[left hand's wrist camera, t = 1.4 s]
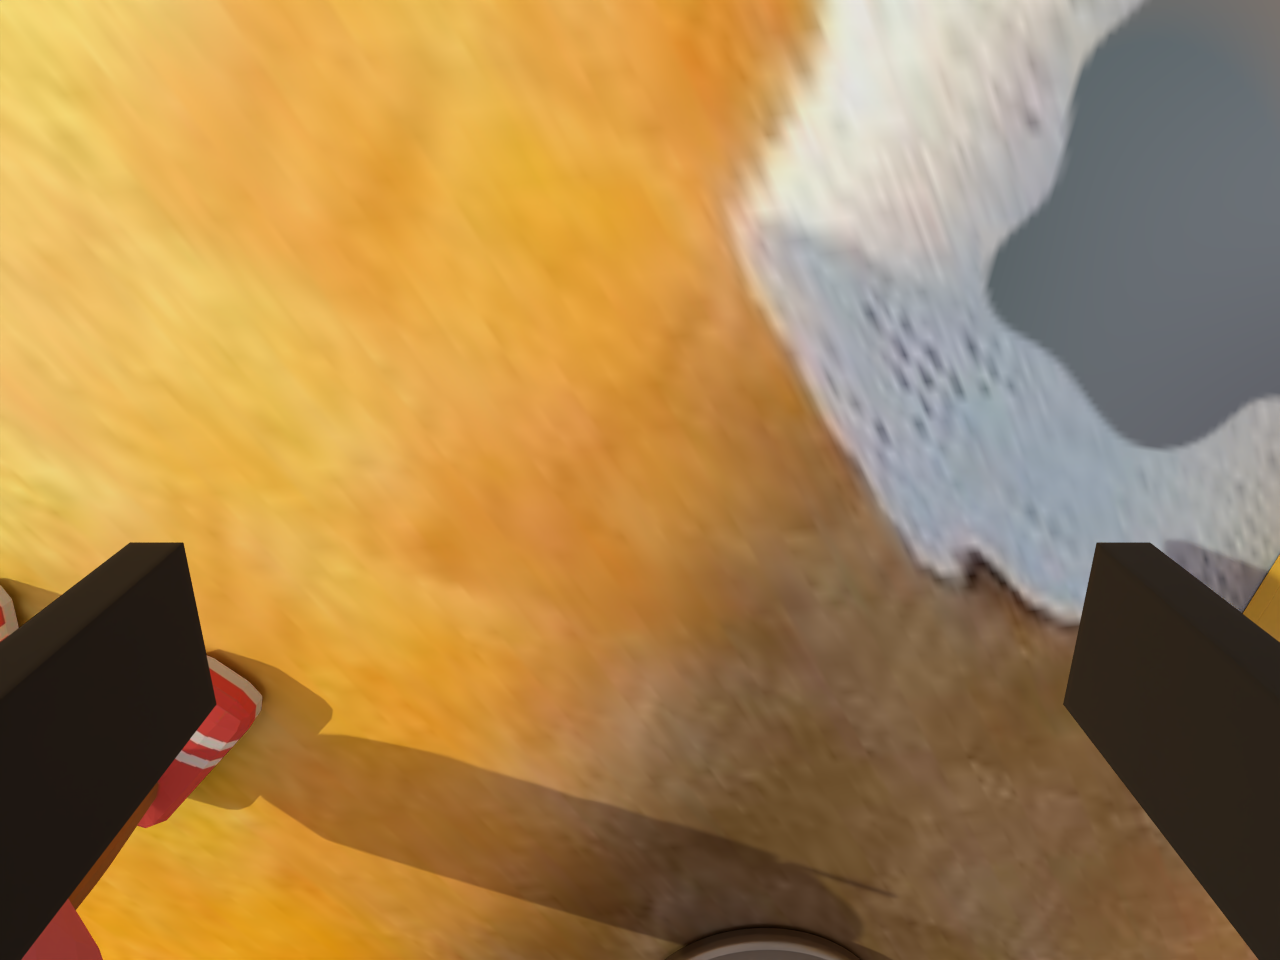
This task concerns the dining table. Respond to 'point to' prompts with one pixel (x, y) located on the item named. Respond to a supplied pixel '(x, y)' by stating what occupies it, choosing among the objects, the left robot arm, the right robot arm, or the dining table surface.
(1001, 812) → the dining table surface
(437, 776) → the dining table surface
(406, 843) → the dining table surface
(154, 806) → the toy
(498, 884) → the dining table surface
